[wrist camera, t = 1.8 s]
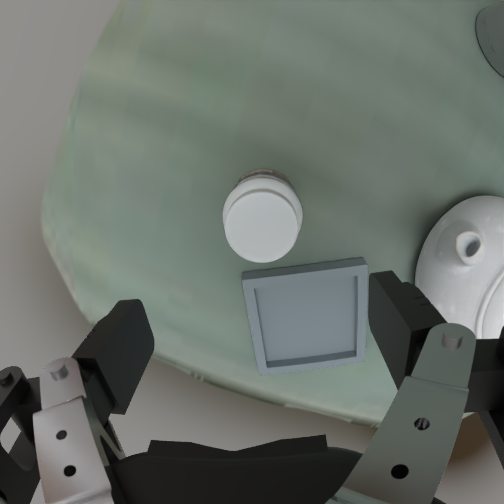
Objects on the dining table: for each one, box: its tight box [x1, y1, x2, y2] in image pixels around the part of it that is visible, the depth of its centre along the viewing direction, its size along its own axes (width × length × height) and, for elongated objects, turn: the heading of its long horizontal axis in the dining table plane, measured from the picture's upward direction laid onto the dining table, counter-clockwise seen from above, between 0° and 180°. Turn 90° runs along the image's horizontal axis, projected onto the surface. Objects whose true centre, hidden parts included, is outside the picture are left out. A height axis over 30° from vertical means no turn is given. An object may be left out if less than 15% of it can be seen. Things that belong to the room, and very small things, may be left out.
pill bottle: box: [223, 169, 303, 263], centre depth 25 cm, size 6×6×10 cm
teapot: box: [415, 196, 504, 339], centre depth 24 cm, size 19×18×14 cm
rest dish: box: [242, 258, 368, 375], centre depth 33 cm, size 12×12×2 cm
